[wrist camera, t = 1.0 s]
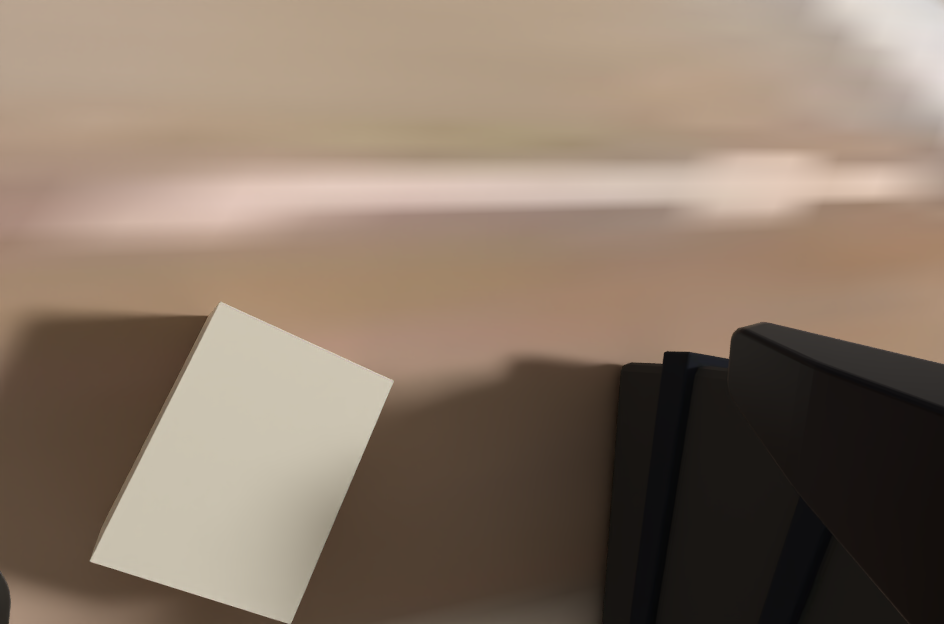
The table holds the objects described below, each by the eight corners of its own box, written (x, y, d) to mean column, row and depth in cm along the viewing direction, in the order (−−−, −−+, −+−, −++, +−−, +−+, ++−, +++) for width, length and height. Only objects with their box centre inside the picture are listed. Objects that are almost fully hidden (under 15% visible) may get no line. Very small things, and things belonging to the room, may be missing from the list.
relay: (265, 580, 20) (290, 624, 16) (101, 526, 19) (89, 561, 15) (353, 381, 22) (394, 380, 18) (208, 315, 20) (220, 301, 16)
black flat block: (731, 281, 25) (1320, 554, 13) (603, 590, 29) (968, 1053, 16) (649, 261, 24) (1236, 553, 11) (523, 592, 27) (861, 1113, 14)
